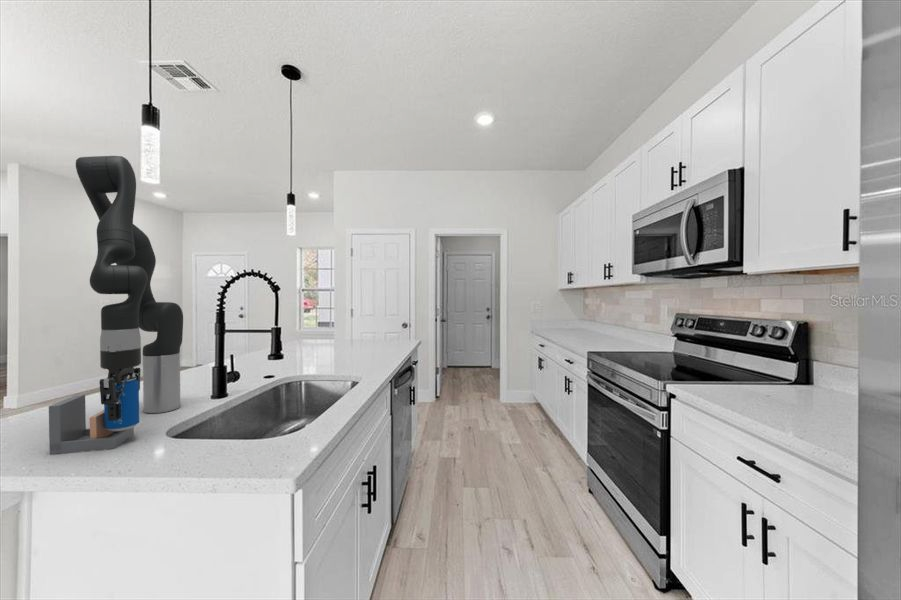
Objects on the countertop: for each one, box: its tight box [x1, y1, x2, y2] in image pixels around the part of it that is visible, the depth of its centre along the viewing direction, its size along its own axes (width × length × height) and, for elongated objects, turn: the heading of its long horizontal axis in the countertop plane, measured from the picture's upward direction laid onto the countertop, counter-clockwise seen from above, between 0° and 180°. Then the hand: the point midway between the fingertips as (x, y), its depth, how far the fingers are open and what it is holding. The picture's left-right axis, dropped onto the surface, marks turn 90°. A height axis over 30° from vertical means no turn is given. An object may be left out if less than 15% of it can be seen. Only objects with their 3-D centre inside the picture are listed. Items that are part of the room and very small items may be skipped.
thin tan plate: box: [89, 409, 113, 439], centre depth 93 cm, size 1×7×6 cm, turn 17°
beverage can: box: [103, 377, 140, 431], centre depth 94 cm, size 6×6×12 cm
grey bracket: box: [48, 394, 135, 455], centre depth 92 cm, size 12×9×11 cm
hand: (122, 415), depth 94 cm, fingers closed on beverage can, 6 cm apart
